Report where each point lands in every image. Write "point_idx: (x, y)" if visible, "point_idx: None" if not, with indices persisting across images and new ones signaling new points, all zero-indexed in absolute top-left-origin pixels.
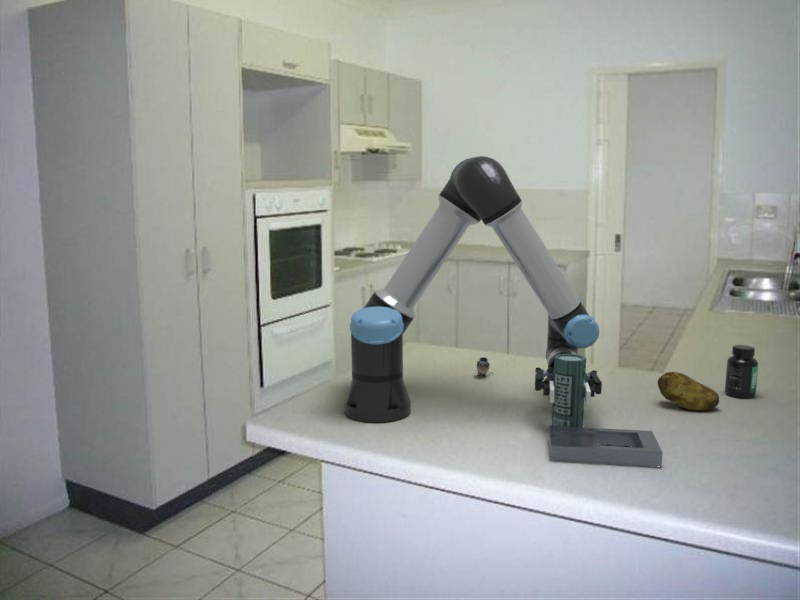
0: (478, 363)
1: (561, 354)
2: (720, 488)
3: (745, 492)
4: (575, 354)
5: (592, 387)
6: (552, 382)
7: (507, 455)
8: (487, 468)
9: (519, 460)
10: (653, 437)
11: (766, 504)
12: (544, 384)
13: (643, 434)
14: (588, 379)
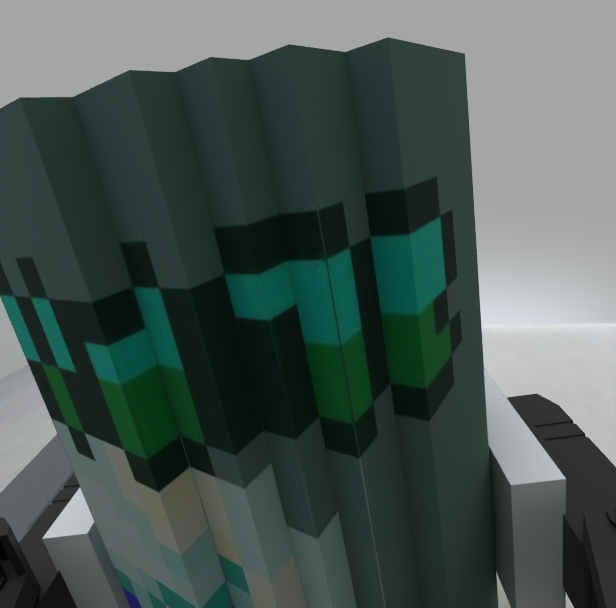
0: None
1: (347, 54)
2: (45, 405)
3: (10, 404)
4: (5, 112)
5: (47, 524)
6: (493, 430)
7: (563, 408)
8: (566, 349)
9: (506, 394)
10: (2, 496)
11: (20, 383)
12: (607, 467)
13: (14, 518)
14: (4, 529)
